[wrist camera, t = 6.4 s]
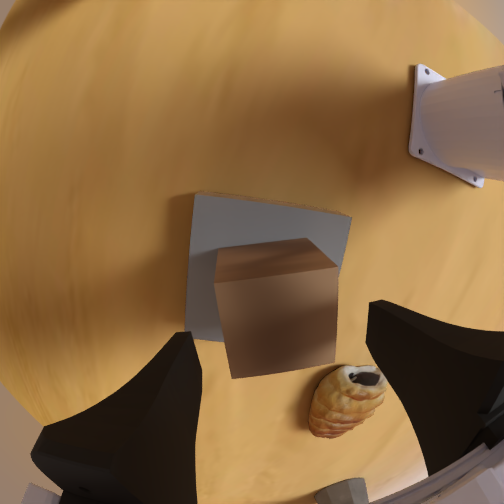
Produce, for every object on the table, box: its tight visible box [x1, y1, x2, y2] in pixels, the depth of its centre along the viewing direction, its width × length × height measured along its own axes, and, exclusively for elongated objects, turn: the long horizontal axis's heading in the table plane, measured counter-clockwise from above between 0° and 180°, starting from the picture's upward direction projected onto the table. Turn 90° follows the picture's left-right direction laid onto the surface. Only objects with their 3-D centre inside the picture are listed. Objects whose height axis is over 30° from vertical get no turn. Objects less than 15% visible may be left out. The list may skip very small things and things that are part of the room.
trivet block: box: [185, 191, 352, 342], centre depth 18 cm, size 9×9×3 cm
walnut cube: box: [214, 238, 338, 379], centre depth 14 cm, size 5×5×5 cm
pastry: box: [308, 365, 388, 439], centre depth 22 cm, size 9×7×4 cm
